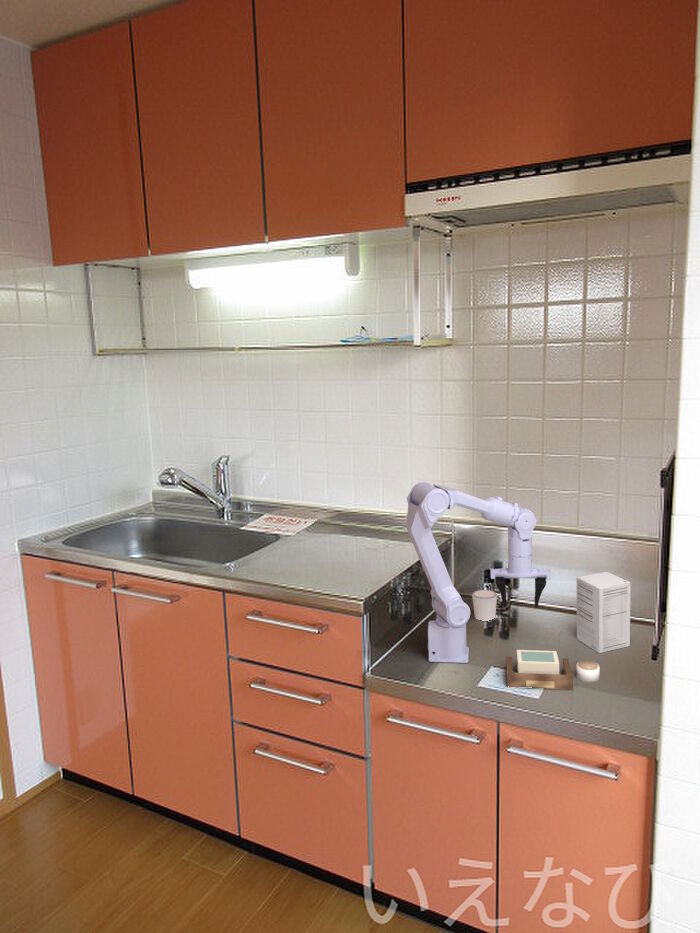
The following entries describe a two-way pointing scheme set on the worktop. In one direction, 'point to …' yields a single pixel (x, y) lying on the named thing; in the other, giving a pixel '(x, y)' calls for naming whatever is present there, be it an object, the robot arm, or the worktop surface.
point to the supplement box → (603, 611)
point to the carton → (537, 662)
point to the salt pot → (588, 671)
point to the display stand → (540, 678)
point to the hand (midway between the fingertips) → (520, 605)
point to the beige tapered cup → (484, 604)
